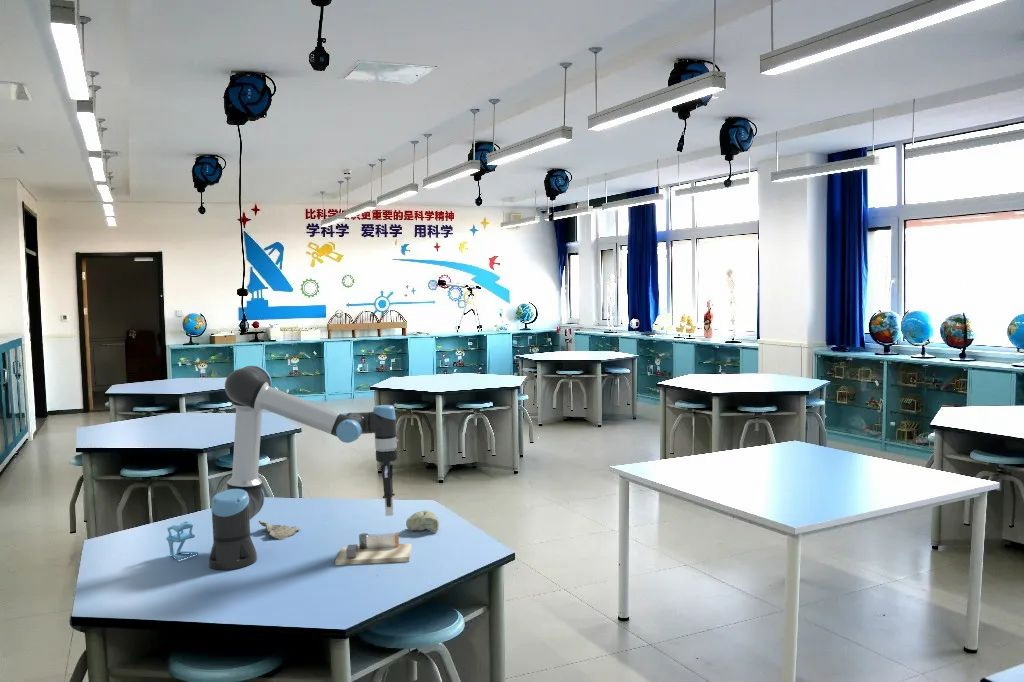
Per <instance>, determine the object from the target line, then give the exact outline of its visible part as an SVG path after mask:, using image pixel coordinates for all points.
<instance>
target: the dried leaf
mask: <svg viewBox="0 0 1024 682" xmlns="http://www.w3.org/2000/svg"><path fill="white" fill-rule="evenodd" d="M258 524H260V525H261V527H264V528H265V531H266V532H267V534H268V535H269V536H270V537H272V538H274V539H276V540H278V541H283V540H285V539H287V538H291V537H292V536H294V535H295V533H296V532H297V531H300V530H301V529H300V528H299V527H298V526H290V525H289V526H288V525H281V524H269V523H268V522H265V521H261V520H258Z"/></svg>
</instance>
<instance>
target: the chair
mask: <svg viewBox="0 0 1024 682" xmlns="http://www.w3.org/2000/svg"><path fill="white" fill-rule="evenodd" d="M193 527H194V524H192V523H191V522H189V521H184V522H182V523H180V524H179V525H176V524H173V525H171V526H168V527H166V529H167V532H168V536H167V537H165V538H166V541H167V543H168V547H169V553H170V554H169V556H170V555H172V556H173V557H175V558H176V559H177V560H181V559H184V558H187V557H190V556H193V555H196V554H198V555H199V552H198V551H190V550H188V551H187V550H186V551H185V550H182V548H183V546H184V544H185V542H186V541H187V540H190V539H194V538H196V537H195V536H196V535H195V534H193V533H192V531H193ZM187 529H189V532H188V533H186V532H185V531H184V530H187ZM171 530H173V531H175V532H176V533H177V534H174V535H172V534H173V533H172V532H171ZM174 543H179V545H178V548H177V550H176V553H175V552H174ZM177 553H189V554H190V555H185V556H182V557H179V556H178V554H177ZM191 553H192V554H191ZM173 557H172V558H173ZM177 560H176V561H177Z"/></svg>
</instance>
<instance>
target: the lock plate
mask: <svg viewBox="0 0 1024 682" xmlns="http://www.w3.org/2000/svg"><path fill="white" fill-rule="evenodd" d="M357 546H358V554H357V556H356V558H350V559H347V556H346V549H347V547H348V546H341V547H340V550H339V551H338V554H337V555H336V558H335V560H334V563H335V564H334V565H335V566H345V565H346V566H347V565H365V564H367V565H368V564H383V563H385V564H388V563H405V562H406V563H407V562H410V558H411V553H412V543H399V547H385V548H366V549H360V548H359V545H357Z"/></svg>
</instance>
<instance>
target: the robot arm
mask: <svg viewBox="0 0 1024 682" xmlns="http://www.w3.org/2000/svg"><path fill="white" fill-rule="evenodd" d="M224 390H225V394H226V395H227V397H228V398H229V399H230V400H231V405H232V407H234V408H235V422H234V424H235V425H234V439H233V441H234V442H233V454H232V455H233V459H232V473H231V475H232V476H231V478H229V479H228V480H227V482H226V489H225V490H223V491H219V492H217V493H216V494H215V495H214V496H213V497H212V499H211V505H210V507H211V508H210V509H211V510H210V511H211V520H212V521H211V522H212V537H213V540H212V541H213V542H212V547H211V550H210V552H209V553H210V554H209V557H208V566H210V567H211V569H214V570H217V569H218V570H219V571H221V570H222V571H228V570H230V571H231V570H234V569H235V570H236V569H240V568H246V567H248V566H250V565H253V564H254V563H256V562H257V560H258V553H257V551H256V547H255V545H254V543H253V541H252V538H251V524H250V523H251V522H250V520H251V519H253V518H254V517H255V516H256V515H257V514H259V512H261V509H262V508H263V505H264V504H265V493H264V490H263V489H262V488H263V481H262V479H261V478H260V477H259V466H260V465H259V464H260V447H261V433H262V432H261V431H262V418H263V417H262V415H263V414H262V413H263V410H266V411H268V412H270V413H274V414H276V415H279V416H282V417H284V418H286V419H290V420H292V421H295V422H297V423H299V424H302V425H306V426H308V427H311V428H314V429H317V430H319V431H322V432H324V433H327V434H330V435H331V436H334V437H337V438H338V439H339V441H341V442H342V443H346V444H350V443H352V442H355V441H356V440H358V439H359V438H360V436H361V435H365V434H374V449H375V461H376V462H378V463H382V465H381V466H380V468H381V470H380V472H381V475H382V477H381V478H382V483H383V484H382V485H383V496H382V499H384V509H385V512H384V513H385V517H389V516H390V517H391V516H394V514H395V513H394V496H396V495H395V493H393V492H394V489H393V488H394V487H393V486H394V485H393V483H394V482H393V480H394V479H393V476H394V464H392V462H395V461H397V460H398V449H397V447H398V443H399V439H397V419H396V410H395V407H394V405H392V404H381V405H375V406H374V407H373V410H372V411H369V412H363V411H362V412H346V413H339V412H338V411H335V410H332V409H329V408H327V407H324V406H321V405H319V404H317V403H313V402H312V401H308V400H306V399H303V398H300V397H298V396H295V395H292V394H290V393H287V392H285V391H282V390H280V389H277V388H275V387H272V377H271V375H270V373H269V372H268V371H267V370H266V369H265V368H263V367H261V366H260V365H259V366H258V365H247V366H244V367H242V368H236V369H235V370H233V371H232V372H231V373H229V374H228V376H227V377H226V379H225V382H224ZM210 567H209V568H210Z"/></svg>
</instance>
